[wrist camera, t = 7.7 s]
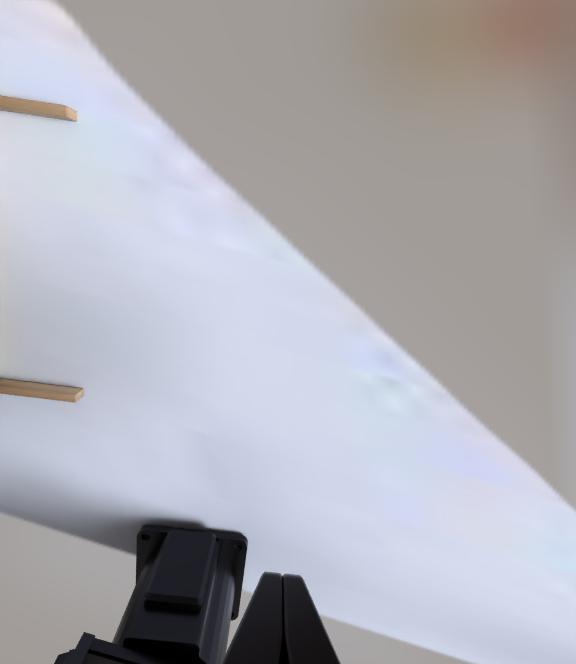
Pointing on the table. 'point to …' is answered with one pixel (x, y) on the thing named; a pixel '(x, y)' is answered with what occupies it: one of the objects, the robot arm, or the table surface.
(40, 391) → the guide rails
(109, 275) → the table surface
